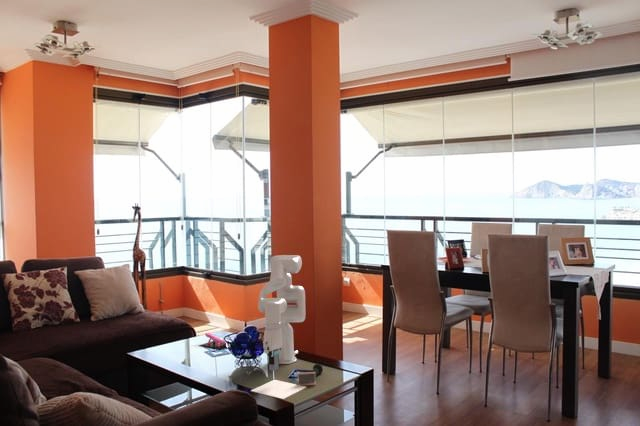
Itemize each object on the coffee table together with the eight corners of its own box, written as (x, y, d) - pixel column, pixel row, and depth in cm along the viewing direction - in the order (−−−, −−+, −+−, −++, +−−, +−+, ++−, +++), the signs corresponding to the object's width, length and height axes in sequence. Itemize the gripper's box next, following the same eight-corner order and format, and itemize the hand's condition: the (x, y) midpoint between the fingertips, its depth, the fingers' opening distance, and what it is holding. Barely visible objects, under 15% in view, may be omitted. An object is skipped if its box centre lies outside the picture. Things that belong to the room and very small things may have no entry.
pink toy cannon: (214, 341, 358) (213, 330, 358) (236, 345, 347) (236, 334, 347) (197, 346, 346) (196, 335, 346) (219, 351, 335) (219, 339, 335)
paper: (274, 380, 280) (274, 379, 280) (306, 387, 268) (306, 386, 268) (250, 391, 265) (250, 390, 265) (283, 399, 254) (283, 398, 254)
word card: (297, 384, 272) (297, 372, 272) (315, 383, 273) (315, 372, 273) (297, 385, 271) (297, 373, 271) (315, 384, 272) (315, 372, 271)
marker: (273, 368, 274) (273, 348, 273) (278, 369, 272) (278, 349, 271) (269, 369, 271) (269, 349, 270) (274, 371, 269) (274, 350, 269)
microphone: (309, 389, 274) (322, 373, 291) (312, 380, 272) (325, 364, 290) (300, 385, 275) (314, 369, 293) (303, 376, 274) (316, 360, 291)
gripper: (277, 322, 280) (278, 358, 280) (256, 328, 266) (257, 366, 267) (289, 323, 275) (290, 360, 276) (268, 330, 262) (269, 368, 262)
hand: (274, 363), depth 271 cm, fingers closed on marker, 2 cm apart
